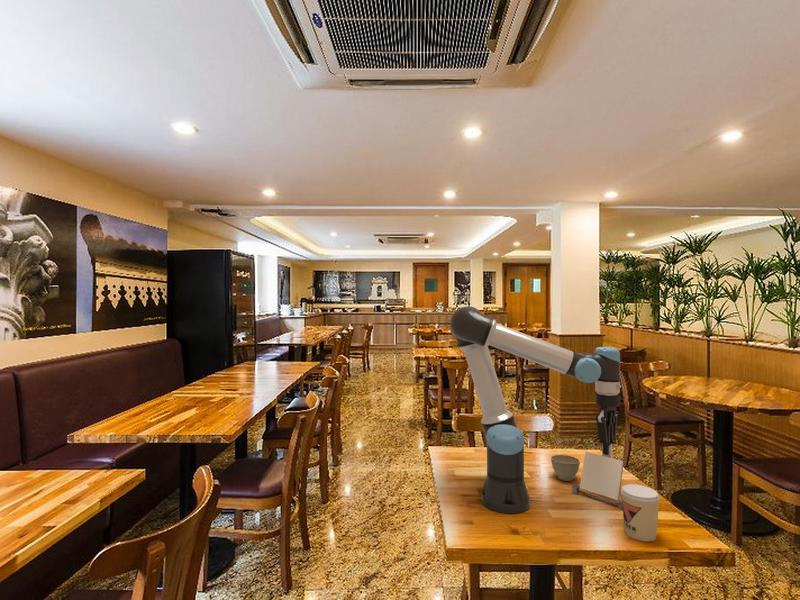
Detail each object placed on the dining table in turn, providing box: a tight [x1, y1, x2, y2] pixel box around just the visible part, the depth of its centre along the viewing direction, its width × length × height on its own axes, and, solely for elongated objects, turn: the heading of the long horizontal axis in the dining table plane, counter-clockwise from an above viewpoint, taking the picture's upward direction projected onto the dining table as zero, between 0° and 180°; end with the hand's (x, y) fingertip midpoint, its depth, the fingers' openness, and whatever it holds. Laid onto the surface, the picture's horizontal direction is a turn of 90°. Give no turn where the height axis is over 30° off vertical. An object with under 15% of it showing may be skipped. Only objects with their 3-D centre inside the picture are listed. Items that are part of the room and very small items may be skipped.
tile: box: [579, 451, 625, 501], centre depth 143 cm, size 12×12×2 cm
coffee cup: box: [620, 484, 660, 542], centre depth 121 cm, size 9×9×12 cm
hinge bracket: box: [571, 484, 623, 511], centre depth 141 cm, size 2×17×2 cm, turn 41°
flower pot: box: [550, 454, 581, 482], centre depth 159 cm, size 10×10×7 cm
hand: (607, 463), depth 147 cm, fingers closed
